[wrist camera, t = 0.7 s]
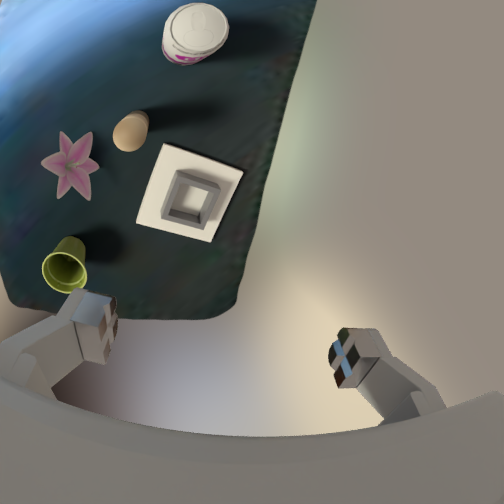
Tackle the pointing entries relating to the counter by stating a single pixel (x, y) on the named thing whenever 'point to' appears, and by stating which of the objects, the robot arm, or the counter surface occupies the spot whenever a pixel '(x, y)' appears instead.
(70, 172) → the lily
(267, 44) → the counter surface
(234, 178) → the docking plate
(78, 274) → the plant pot
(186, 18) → the supplement can
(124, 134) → the beech peg
